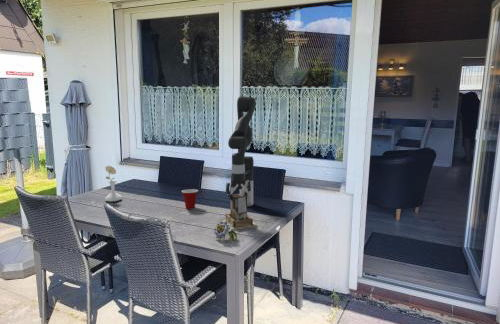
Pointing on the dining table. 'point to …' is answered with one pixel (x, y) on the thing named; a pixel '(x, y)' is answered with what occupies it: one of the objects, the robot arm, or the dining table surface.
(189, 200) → the plastic cup
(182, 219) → the dining table surface
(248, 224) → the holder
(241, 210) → the coffee box
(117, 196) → the flower in vase
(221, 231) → the passion flower
